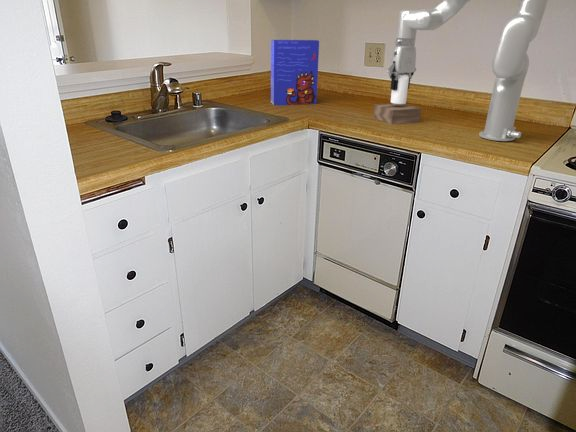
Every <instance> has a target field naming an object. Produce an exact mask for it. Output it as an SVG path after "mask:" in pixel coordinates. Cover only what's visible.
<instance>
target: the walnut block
mask: <svg viewBox="0 0 576 432" xmlns="http://www.w3.org/2000/svg"><path fill="white" fill-rule="evenodd" d="M421 113H422V108H420V107H417V106H414V105H411V104H406V103H405V104H403V105H397V104H392V103H378V104H377V103H375V104H374V106H373V114H372V116H373V117H372V118H373V119H375V120H379V121H381V122H384V123H387V124H389V125H397V124H398V125H399V124H401V125H402V124H415V123H420V120H421Z"/></svg>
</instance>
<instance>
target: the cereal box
mask: <svg viewBox="0 0 576 432" xmlns="http://www.w3.org/2000/svg"><path fill="white" fill-rule="evenodd" d="M319 49H320V41H319V40H318V39H271V40H270V104H271V103H272V104H273V105H278V106H295V105H297V106H299V105H300V106H301V105H316V104H317V100H318V99H317V95H318V74H319V55H320V53H319V52H320V51H319ZM272 104H271V105H272ZM273 105H272V106H273Z"/></svg>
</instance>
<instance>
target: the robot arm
mask: <svg viewBox="0 0 576 432" xmlns="http://www.w3.org/2000/svg"><path fill="white" fill-rule="evenodd" d="M470 1H471V0H442V1H441V2H440V3H438V4H437V5H436V6H434V7H433V8H423V9H401V10H400V11H399V13H398V20H397V28H396V29H397V30H396V39H395V41H394V43H395V47H394V48H393V53H392V55H391V62H390V63H391V64H390V66H389V67H388V69H387V74H388V75H389V78H390V80H391V81H390V90H391V91H392V90H397V86H398V80H397V78H398V76H399V73H404V74H409V75H408V77H409V83H408V90H410V84H411V79H412V78H413V75H414V73H415V72H416V71H417V68H416V62H417V61H416V60H417V49H416V47H415V44H416V36H417V30H418V31H434V30H437V29H439V28H440V27H441V26H443V25H444V24H445V23H447V22H448V21H449V20H451V19H452V18H454V16H456V15H457V14H458V13H459V12H460V11H461V10H462V9H463V8H464V7H465V5H466V4H468V3H469V2H470ZM548 2H549V0H519V1H518V4H517V9H516V11H515V14H514V16H513V17H510V19H508V20H507V21H506V23H505V24H504V25H503V28H502V31H501V32H500V36H499V40H498V42H497V44H496V45H497V46H496V48H495V53H494V55H493V59H492V63H491V68H492V72H493V74H494V75H495V80H494V84H493V88H492V92H491V97H490V102H489V106H488V110H487V116H486V120H485V126H484V130H481V131H479V134H478V136H479V137H480V138H483V139H485V140H490V141H496V142H497V141H498V142H512V141H514V140H515V139H519V138H521V136H522V132H521V131H516V128H517V127H516V126H514V124H515V120H516V115H517V111H518V109H519V108H518V107H519V104H520V98H521V94H522V91H523V87H524V82H525V80H526V77H527V73H528V70H529V67H530V66H529V65H530V58H529V54H528V53H527V52H528V49H529V46H530V43H531V42H533V41H534V40H535V39H536V37H537V35H538V33H539V30H540V26H541V23H542V21H543V16H544V14H545V11H546V9H547V8H546V7H547V4H548ZM395 74H396V75H395Z"/></svg>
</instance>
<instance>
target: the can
mask: <svg viewBox="0 0 576 432" xmlns="http://www.w3.org/2000/svg"><path fill="white" fill-rule="evenodd" d="M395 75H396V74H395ZM408 75H409V74H404V73H399V76H398V78H397V80H398V86H397V90H391V94H390V104H397V105H403V104H406V103H407V97H408V92H409V91H408V90H409V89H408V83H409V77H408Z"/></svg>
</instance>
